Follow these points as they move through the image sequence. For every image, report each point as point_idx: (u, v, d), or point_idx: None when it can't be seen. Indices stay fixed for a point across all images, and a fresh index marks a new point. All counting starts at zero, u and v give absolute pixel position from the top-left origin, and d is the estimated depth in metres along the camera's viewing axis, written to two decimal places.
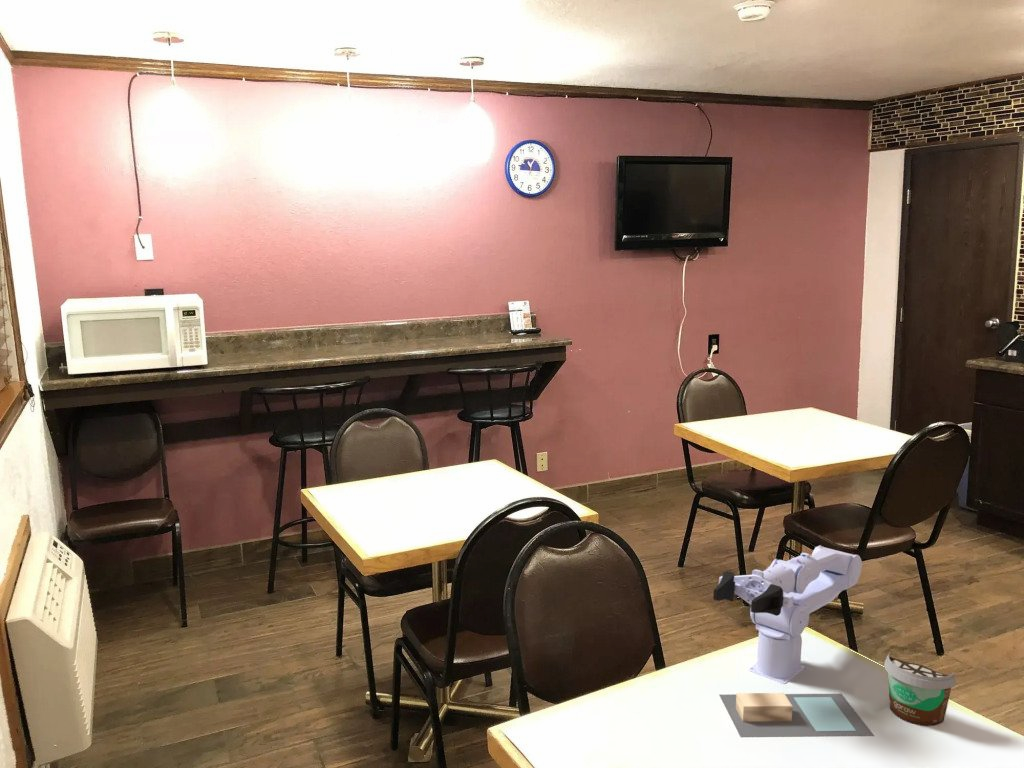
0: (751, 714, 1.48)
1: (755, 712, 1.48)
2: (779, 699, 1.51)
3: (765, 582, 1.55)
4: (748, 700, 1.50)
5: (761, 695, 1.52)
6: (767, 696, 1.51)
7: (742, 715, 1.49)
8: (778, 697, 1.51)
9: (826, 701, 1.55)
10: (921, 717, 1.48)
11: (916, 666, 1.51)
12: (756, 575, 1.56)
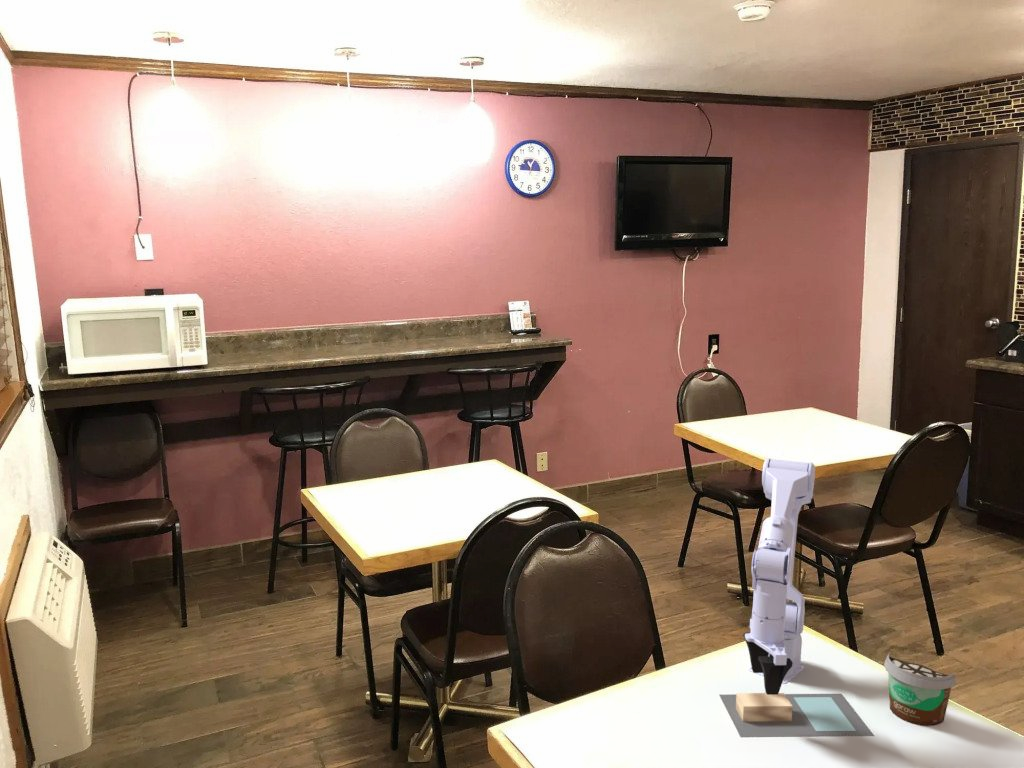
0: (751, 714, 1.48)
1: (755, 712, 1.48)
2: (779, 699, 1.51)
3: None
4: (748, 700, 1.50)
5: (761, 695, 1.52)
6: (767, 696, 1.51)
7: (742, 715, 1.49)
8: (778, 697, 1.51)
9: (826, 701, 1.55)
10: (921, 717, 1.48)
11: (916, 666, 1.51)
12: None
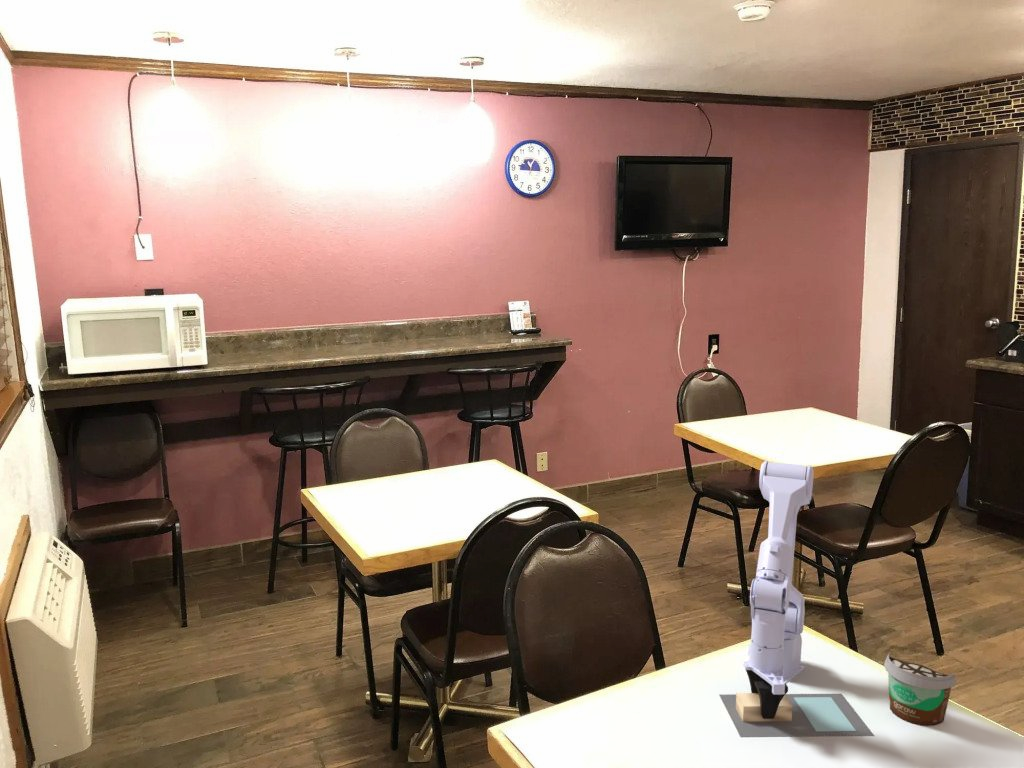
0: (751, 714, 1.48)
1: (755, 712, 1.48)
2: None
3: None
4: (748, 700, 1.50)
5: None
6: None
7: (742, 715, 1.49)
8: None
9: (826, 701, 1.55)
10: (921, 717, 1.48)
11: (916, 666, 1.51)
12: None
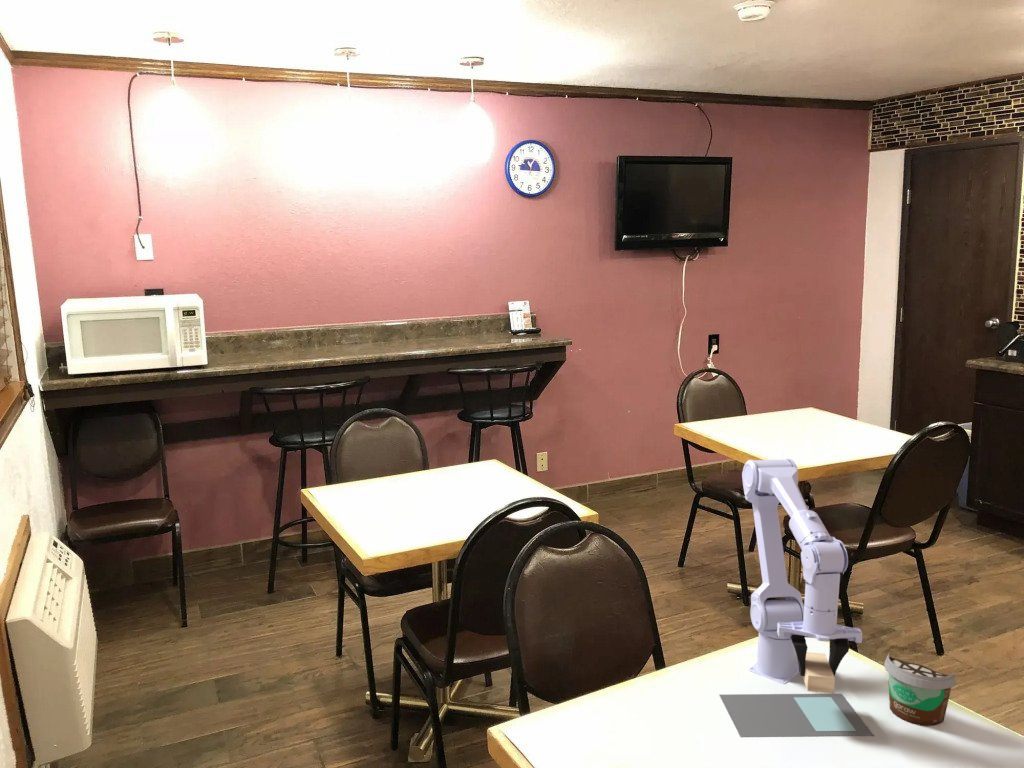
0: None
1: None
2: (813, 656, 1.52)
3: None
4: (821, 672, 1.47)
5: (809, 663, 1.50)
6: (810, 661, 1.51)
7: (831, 688, 1.45)
8: (810, 656, 1.52)
9: (826, 701, 1.55)
10: (921, 717, 1.48)
11: (916, 666, 1.51)
12: None
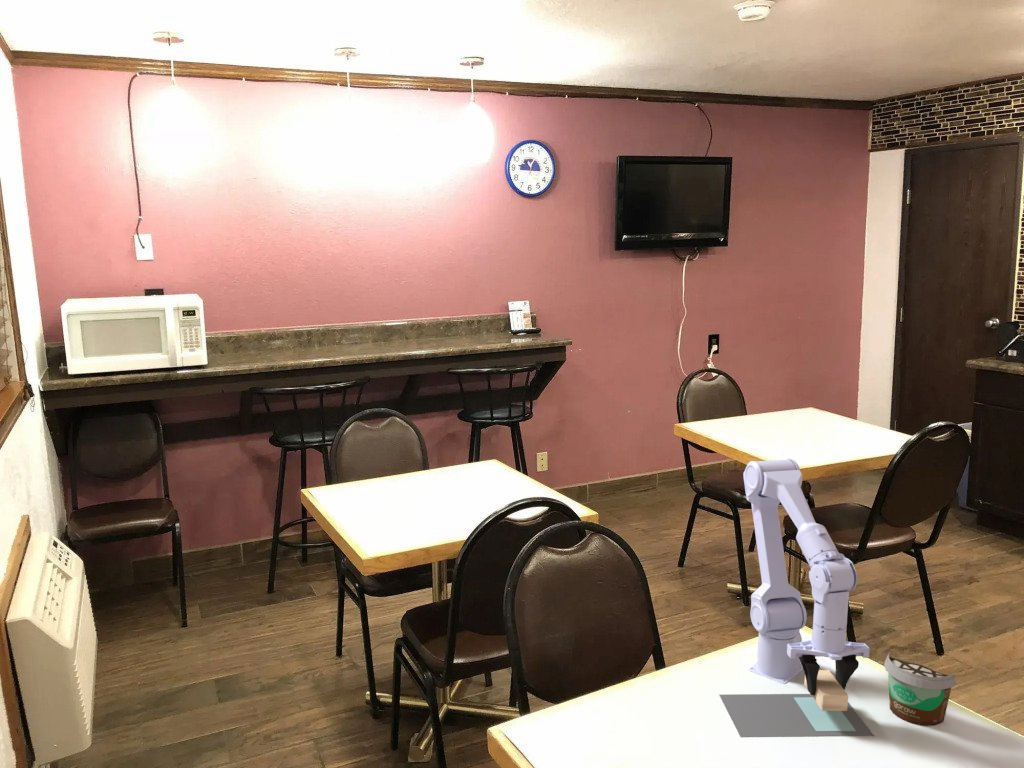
0: None
1: None
2: (819, 673, 1.53)
3: None
4: (833, 690, 1.47)
5: (819, 682, 1.50)
6: (818, 679, 1.51)
7: (845, 705, 1.46)
8: None
9: None
10: (921, 717, 1.48)
11: (916, 666, 1.51)
12: None
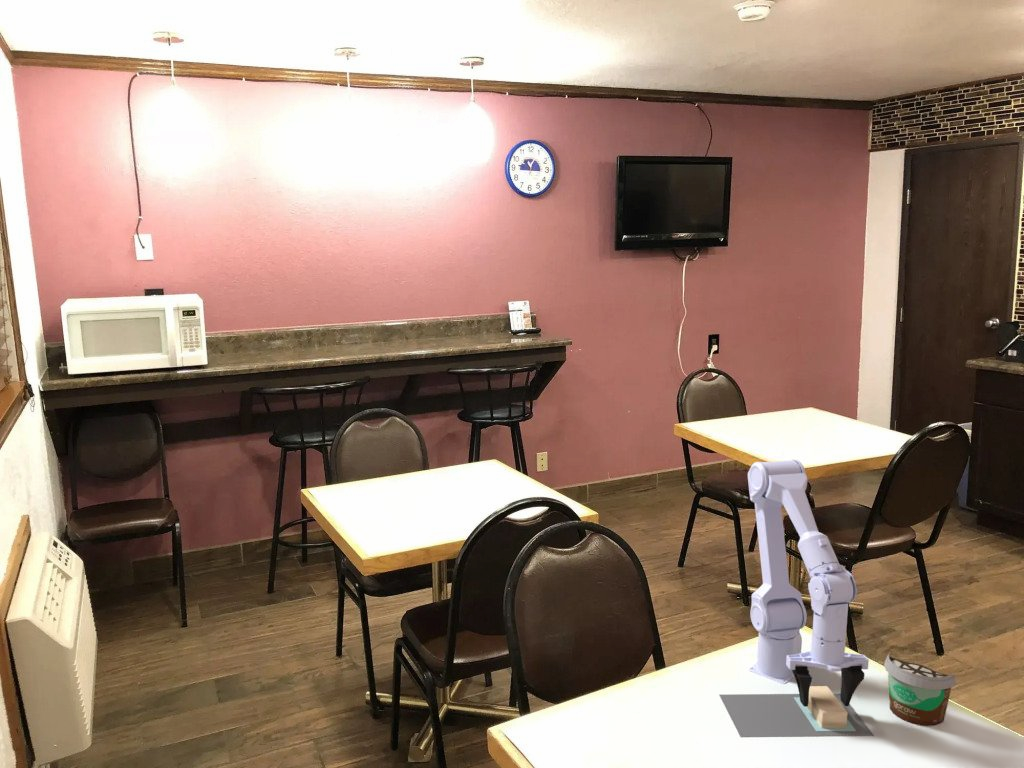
0: None
1: None
2: (817, 690, 1.53)
3: None
4: (833, 707, 1.48)
5: (818, 698, 1.50)
6: (817, 695, 1.52)
7: (844, 722, 1.46)
8: (814, 690, 1.53)
9: None
10: (921, 717, 1.48)
11: (916, 666, 1.51)
12: None
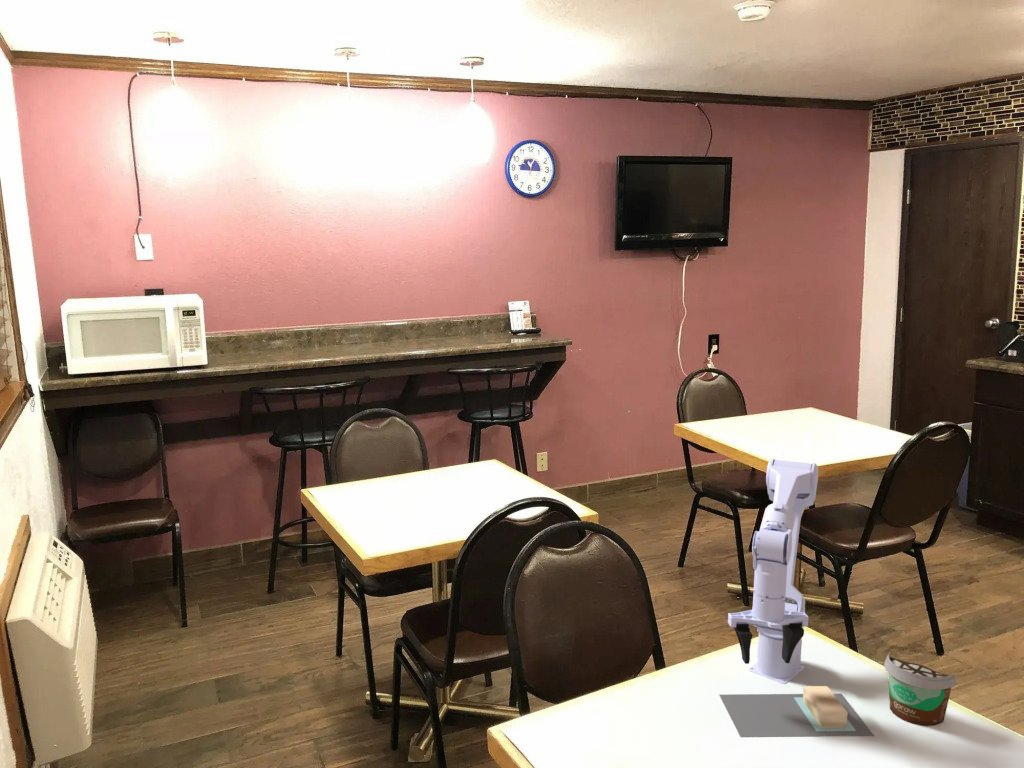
0: None
1: None
2: (817, 690, 1.53)
3: None
4: (833, 707, 1.48)
5: (818, 698, 1.50)
6: (817, 695, 1.52)
7: (844, 722, 1.46)
8: (814, 690, 1.53)
9: None
10: (921, 717, 1.48)
11: (916, 666, 1.51)
12: None
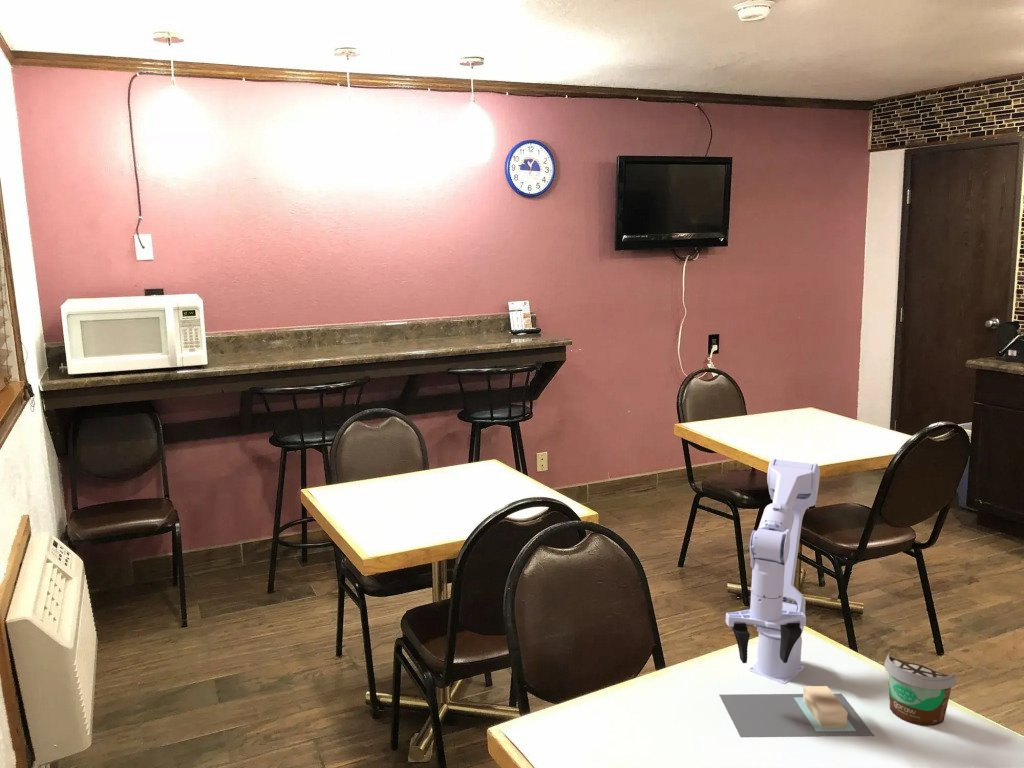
0: None
1: None
2: (817, 690, 1.53)
3: None
4: (833, 707, 1.48)
5: (818, 698, 1.50)
6: (817, 695, 1.52)
7: (844, 722, 1.46)
8: (814, 690, 1.53)
9: None
10: (921, 717, 1.48)
11: (916, 666, 1.51)
12: None
